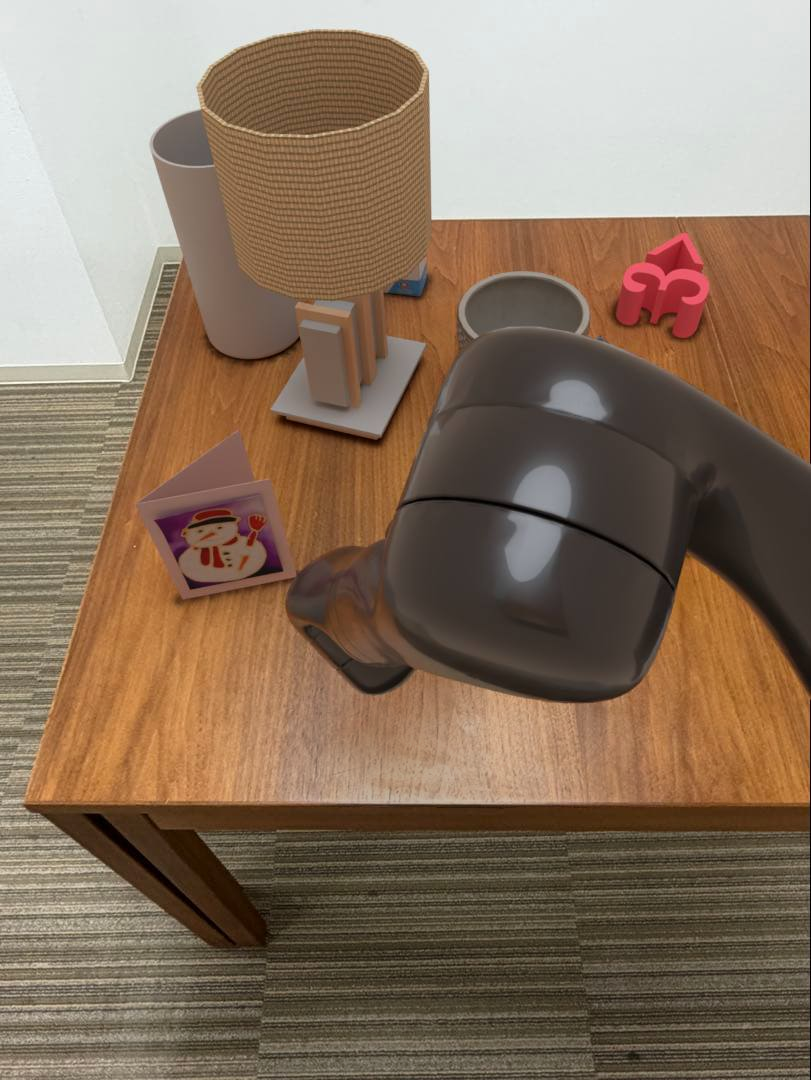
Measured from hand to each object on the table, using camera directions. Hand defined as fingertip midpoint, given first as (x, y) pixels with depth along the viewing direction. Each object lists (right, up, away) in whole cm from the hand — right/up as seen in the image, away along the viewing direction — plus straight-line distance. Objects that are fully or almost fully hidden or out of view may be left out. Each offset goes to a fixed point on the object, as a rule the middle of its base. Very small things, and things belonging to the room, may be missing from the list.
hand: (607, 364), depth 71 cm
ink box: (-20, +19, +37) cm, 46 cm away
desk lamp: (-24, +2, +25) cm, 35 cm away
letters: (+16, +16, +32) cm, 39 cm away
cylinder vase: (-37, +11, +32) cm, 50 cm away
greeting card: (-35, -18, +10) cm, 41 cm away
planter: (-5, 0, +22) cm, 23 cm away
